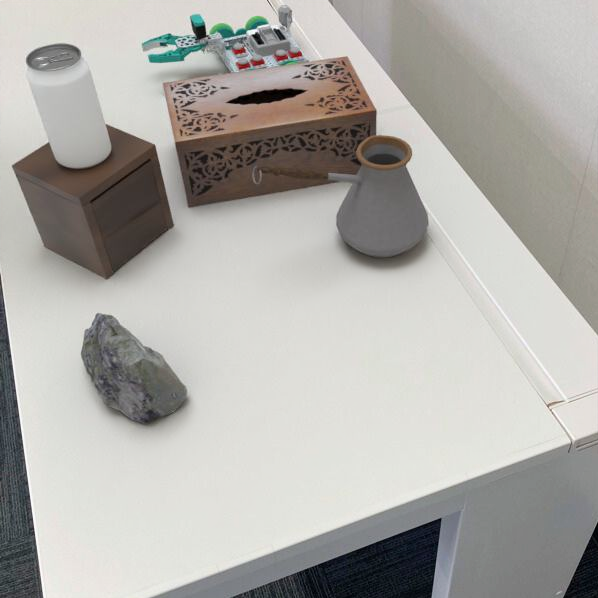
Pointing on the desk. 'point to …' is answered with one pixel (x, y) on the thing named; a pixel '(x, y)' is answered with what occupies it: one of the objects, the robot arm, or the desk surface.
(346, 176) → the coffee pot
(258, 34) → the robot kit
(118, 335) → the mineral rock
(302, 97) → the tissue box cover
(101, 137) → the can
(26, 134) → the desk surface
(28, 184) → the wooden drawer cube
